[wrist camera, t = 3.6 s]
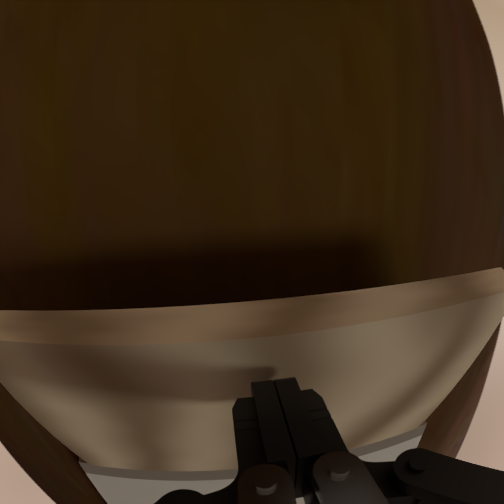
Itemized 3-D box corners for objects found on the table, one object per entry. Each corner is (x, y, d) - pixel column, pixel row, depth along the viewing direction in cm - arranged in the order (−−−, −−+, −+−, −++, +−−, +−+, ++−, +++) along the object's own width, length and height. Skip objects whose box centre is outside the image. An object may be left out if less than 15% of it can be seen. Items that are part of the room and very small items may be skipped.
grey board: (123, 508, 20) (121, 520, 18) (83, 447, 17) (78, 461, 16) (389, 478, 22) (395, 488, 21) (417, 411, 20) (426, 423, 18)
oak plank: (91, 445, 17) (89, 464, 16) (-21, 309, 9) (-36, 336, 8) (410, 411, 19) (417, 428, 18) (501, 267, 12) (519, 287, 10)
